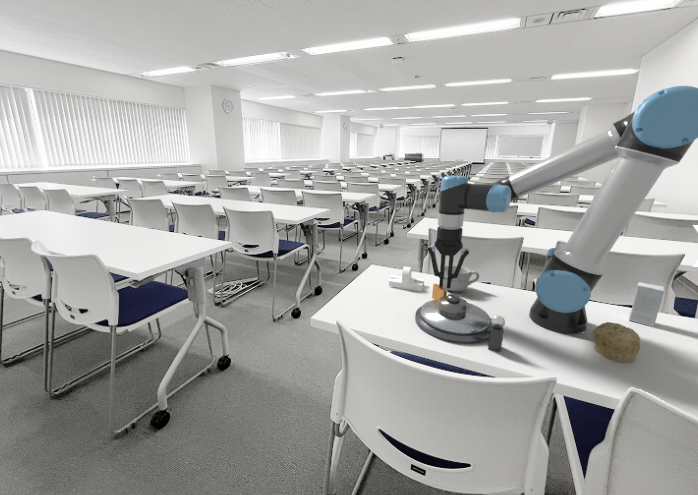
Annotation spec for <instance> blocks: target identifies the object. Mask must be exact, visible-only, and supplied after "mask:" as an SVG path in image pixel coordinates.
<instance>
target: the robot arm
mask: <svg viewBox="0 0 698 495" xmlns="http://www.w3.org/2000/svg"><path fill="white" fill-rule="evenodd" d="M697 139H698V87H695V86H692V85H690V86H689V85H677V86H676V85H675V86H670V87H667V88H663V89H660V90H658V91H656V92H654V93H652V94H651V95H649V96H647V97H646V98H645V99H644V100H643V101H642V102H641V103H640V104H639V105H638V106H637V107H636V110H634V111H633V112H632V113H630V114H629V115H627V116H626V117H623V118H622V119H619V120H617V121H616V122H613V123H611V124H610V125H609V128H608V129H607V130H606V131H605V130H604V131H603V132H601V133H598V134H597V135H594V136H592V137H590V138H588V139H585V140H583V141H581V142H579V143H576V144H575V145H573V146H571V147H568V148H566V149H564V150H562V151H559V152H558V153H555V154H553V155H551V156H549V157H547V158H545V159H544V158H543V159H542V160H540V161H538V162H536V163H534V164H531V165H530V166H527V167H525V168H523V169H521V170H519V171H515V173H512V174H510V175H508V176H505V177H503V178H501V179H499V180H497V181H495V182H491V183H488V184H487V183H469V182H468V177H467V176H463V175H446V176H443V177H442V178H441V182H440V190H439V203H438V204H439V205H438V217H437V218H438V219H437V225H438V226H437V228H436V229H437V230H436V240H435V242H434V244H431V245H428V247H427V251H428V253H429V254H430V255H429V256H430V259H431V266H432V270H433V275H434V276H435V277H437V278H439V284H438V285H439V286H441V287H442V288H444V289H445V290H447V288H449V289H450V287H451V280H452V279H453V278H457V277H458V274H459V272H460V269H461V267H463V263H464V261H465V259H466V257H467V256H468V255H469V254H470V249H468V248H466V247H464V245H463V242H462V238H463V230H464V229H463V227H464V219H465V210H472V211H473V210H474V211H481V212H482V211H483V212H491V213H504V212H506V211H507V210H508V209H509V207H510V205H511V202H513V201H515V200H517V199H520V198H522V197H525V196H528V195H530V194H532V193H534V192H536V191H539V190H543V189H544V188H547V187H550V186H552V185H554V184H557V183H559V182H562V181H564V180H566V179H569V178H572V177H574V176H577V175H579V174H582V173H584V172H586V171H589V170H591V169H594V168H595V167H598V166H601V165H604V164H606V163H608V162H611V161H614V160H615V162H614V164H613V165H612V167H611V168H610V170H609V172H608V173H607V175H606V176H605V179H604V180H603V182H602V184H601V185H600V187H599V188H598V189H597V191H596V193H595V195H594V197H593V199H592V200H591V202H590V204H589V205H588V207H587V209H586V210H585V212H584V214H583V216H582V217H581V219H580V221H579V222H578V223H577V225H576V227H575V229H574V231H573V232H572V234H571V235H570V237H569V239H568V241H567V242H566V244H565V245H564V247H552V248H549V249H548V250H547V254H546V255H545V257H546V260H545V262H544V268H543V269H542V271H541V273H540V274H539V276H538V277H537V278H536V282H535V293H536V299H535V300H534V302H533V304H532V306H531V307H530V310H529V314H528V315H529V316H528V317H529V318H530V320H531V321H532V322H534V323H535V324H537V325H538V326H540V327H543V328H545V329H548V330H549V331H553V332H556V333H557V332H558V333H562V334H569V335H570V334H571V335H572V334H573V335H575V334H581V333H583V332H585V331H587V327H588V317H587V312H586V305H587V304H588V303H589V302H590V299H591V297H592V295H591V294H592V291H593V290H594V288H595V287H596V286H597V284H598V283H599V281H600V280H601V278H602V277H603V275H604V273H605V270H604V268H603V265H602V263H603V262H604V261H605V259H606V258H607V256H608V254H609V253H610V251H611V250H612V248H613V246H614V245H615V244H616V242H617V241H618V239H619V238H620V236H621V235H622V233H623V232H624V230H625V229H626V227H627V226H628V224H629V223H630V221H631V220H632V218H633V217H634V215H635V214H636V213H637V211H638V209H639V208H640V206H641V205H642V203H643V202H644V200H645V199H646V197H647V196H648V195H649V193H650V191H651V190H652V188H653V187H654V185H655V184H656V183H657V181H658V179H659V178H660V176H661V175H662V173H663V172H664V171H665V170H666V169H667V168H670V167H674V166H676V165H678V164H680V162H681V161H682V159H683V157H685V155H686V154H687V152H688V150H689V149H690V148H691V146H692V144H693V143H694V142H695V140H697ZM436 250H437V252H438V253H439V254H440V267H439V266H438V262H437V256H436ZM459 252H460V257H459V259H458V263H457V265H456V266H457V267H456V270H455V272H454V273H453V274H452V269H453V266H454V260H455V259H454V258H455V256H456V255H457V254H458V253H459ZM447 256H449V257H448V265H447V266H448V277H444V271H445V266H446V257H447ZM439 268H440V269H439ZM447 291H448V290H447Z"/></svg>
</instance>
